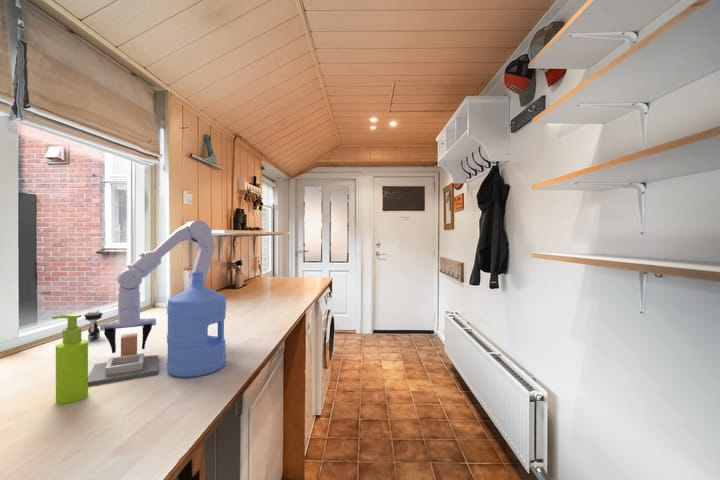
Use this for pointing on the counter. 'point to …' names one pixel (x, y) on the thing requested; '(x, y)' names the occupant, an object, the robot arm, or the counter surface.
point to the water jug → (195, 330)
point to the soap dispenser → (71, 363)
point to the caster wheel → (93, 324)
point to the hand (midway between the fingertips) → (128, 350)
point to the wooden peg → (129, 344)
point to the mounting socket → (123, 368)
